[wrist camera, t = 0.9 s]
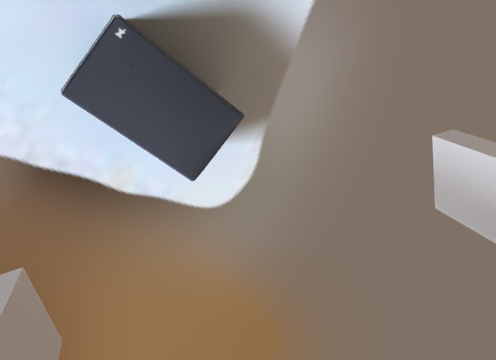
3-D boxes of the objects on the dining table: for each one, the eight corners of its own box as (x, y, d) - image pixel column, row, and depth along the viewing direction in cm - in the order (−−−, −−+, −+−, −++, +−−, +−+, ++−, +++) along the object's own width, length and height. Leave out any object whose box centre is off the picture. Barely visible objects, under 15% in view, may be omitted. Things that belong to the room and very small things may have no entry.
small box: (76, 80, 34) (52, 94, 25) (121, 16, 34) (114, 5, 24) (178, 151, 38) (192, 187, 29) (220, 95, 38) (248, 113, 28)
